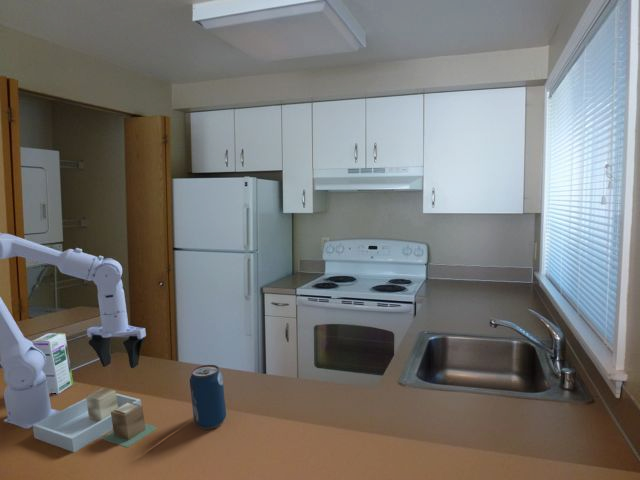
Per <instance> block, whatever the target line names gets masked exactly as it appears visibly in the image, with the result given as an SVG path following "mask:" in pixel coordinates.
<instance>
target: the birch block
mask: <svg viewBox="0 0 640 480" xmlns="http://www.w3.org/2000/svg"><path fill="white" fill-rule="evenodd" d="M116 393H117V392H116V390H112V389H109V388H105V387H102V388H99V389H98V390H96V391H94V392H92V393H90V394H88V395H86V396H85V398H86V400H87V407H88V414H89V419H90V420H93V421H97V422H99V421H101V420H103V419H105V418H106V417H108V416H110V415H111V411H113V410H115V409H116V408H118V404H117V397H116Z"/></svg>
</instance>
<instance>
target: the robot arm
mask: <svg viewBox="0 0 640 480" xmlns="http://www.w3.org/2000/svg"><path fill="white" fill-rule="evenodd" d="M13 257H14V258H15V257H20V258H24V259H27V260H33V261H36V262H41V263H44V264H49V265H52V266H56V267H57V269H58V270H59V272H60V274H63V275H67V276H70V277H74V278H79V279H82V280H85V281H89V282H90V281H91V282H92V281H93V283H94V284H95V286H96V288H97V301H98V306H99V307H98V308H99V315H100V323H101V326H91V327H89V328H88V329H87V328H86V333H87V334H86V335H87V337H88V338H91V339H90V340H89V341H88V345H89V346H90V347H91V348H92V349H93V350H94V351H95V353H96V354H97V356H98V358H99V361H100V363H101V365H102V367H107V366H109V365H111V362H112V359H111V358H112V357H111V338H128V339H126V340H124V341H123V343H122V344H123V345H124V347H125V350H126V352H127V353H126V354H127V355H128V356H127V357H128V362H129V363H128V364H129V366H130V368H131V369H134V368H135V367H138V366H139V360H140V356H141V355H140V353H141V350H142V346H143V343H145V342H144V341H145V339H146V336H147V333H146V328H145V327H137V326H133V325H129V320H128V313H127V312H128V311H127V305H126V298H125V291H124V288H123V287H124V285H123V281H122V279H121V277H122V276H123V275H122V274H123V268H122V267H123V266H122V265H121V264H120V262H119V261H117V260H116V259H114V258H111V257H108V258H104V256H102V255H99V256H96V255H93V254H89V253H85V252H83V249H82V248H79V247H76V248H75V249H74V248H73V249H72V248H68V249H66V250H64V251H60V250H57V249H54V248H51V247H50V246H49V247H48V246H46V245H42V244H39V243H37V242H34V241H30V240H28V239H24V238H22V237H19V236H17V235H14V234H11V233H2V232H0V261H1V260H4V259H8V258H9V259H10V258H13ZM31 341H32V340H30V339H28V338H26V337H25V336H24V334H23V332H22V331H21V330H20V328H19V326H18V325H17V323H16V321H15V319H14V317H13V316H12V314H11V313H10V311H9V309H8V307H7V306H6V304H5V302H4V300H3V299H2V297H1V296H0V366H1V367H2V369H3V379H4V381H5V383H6V384H7V385H6V387H5V389H4V392H3V398H4V404H5V408H6V409H5V410H6V415H7V417H6V418H5V419H3V422H4V423H10V424H12V425H15V426H18V427H21V428H23V429H29V428H33V426H32V425H34V424H36V423H38V422H40V421H42V420H44V419H46V418H48V417H50V416H52V415H54V414H55V413H57V412H59V411H60V410H57V409H54V408H52V407H51V406H52V405H51V404H52V403H51V400H50V399H51V398H50V394H49V392H48V386H47V379H46V375H45V374H44V372H43V370H42V369H43V368H44V366H45V364H46V356H45V354H44V353H43V352H42V351H41V350H39V349H37V348H36V347H35V346H34V344H33V343H32V342H31Z"/></svg>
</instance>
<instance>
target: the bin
mask: <svg viewBox="0 0 640 480" xmlns="http://www.w3.org/2000/svg"><path fill="white" fill-rule="evenodd" d="M116 397H117V404H118V407H120V406H122V405H123V404H125V403H127V402H130V403H134V404H138V405H142V399H140V398H136V397H131V396H128V395H123V394H121V393H117V392H116ZM58 411H59V412H58ZM58 411H56V412H57V413H55V414H54V415H52V416H50V417H48V418H46V419H44V420H42V421H40V422H38V423H36V424H34V425H32V431H33V436H34V439H37V440H39V441H42V442H45V443H48V444H49V445H53V446H56V447H59V448H62V449H64V450H67V451H69V452H72V453H76V452H77V451H79V450H80V449H82V448H84V447H85V446H87V445H90V444H91V443H92V442H94V441H95V440H96V441H97V439H99V438H100V437H101V438H102V436H103V435H106V434H107V433H110V431H113V424H112V417H111V415H110V416H108V417H106V418H105V419H103V420H101V421H99V422H97V421H93V420H90V419H89V414H88V407H87V400H86V397H85V398H84V399H82V400H80V401H77V402H75V403H74V404H71V405H69V406H68V407H65V408H63V409H62V410H58Z"/></svg>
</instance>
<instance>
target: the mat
mask: <svg viewBox="0 0 640 480" xmlns="http://www.w3.org/2000/svg"><path fill="white" fill-rule="evenodd" d="M158 428H159V427H158V426H155V425H151V424H148V423H145V430H144V431H143V432H141V433H140V434H138V435H137V436H135V437H134V438H132V439H131V440H129V441H128V440H125V439H122V438H119V437H115V436H114V432H113V431H112V432H109V433H108V434H107V435H106V434H105V436H103V437H101V438H100V439H101V440H104V441H107V442H110V443H113V444H117V445H119V446H121V447H124V448H129V447H130V446H132V445H133V444H135V443H137V442H139V441H140V440H141V439H143V438H144V437H146V436H147V435H149V434H150V433H152V432H153V431H155V430H157V429H158Z"/></svg>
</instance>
